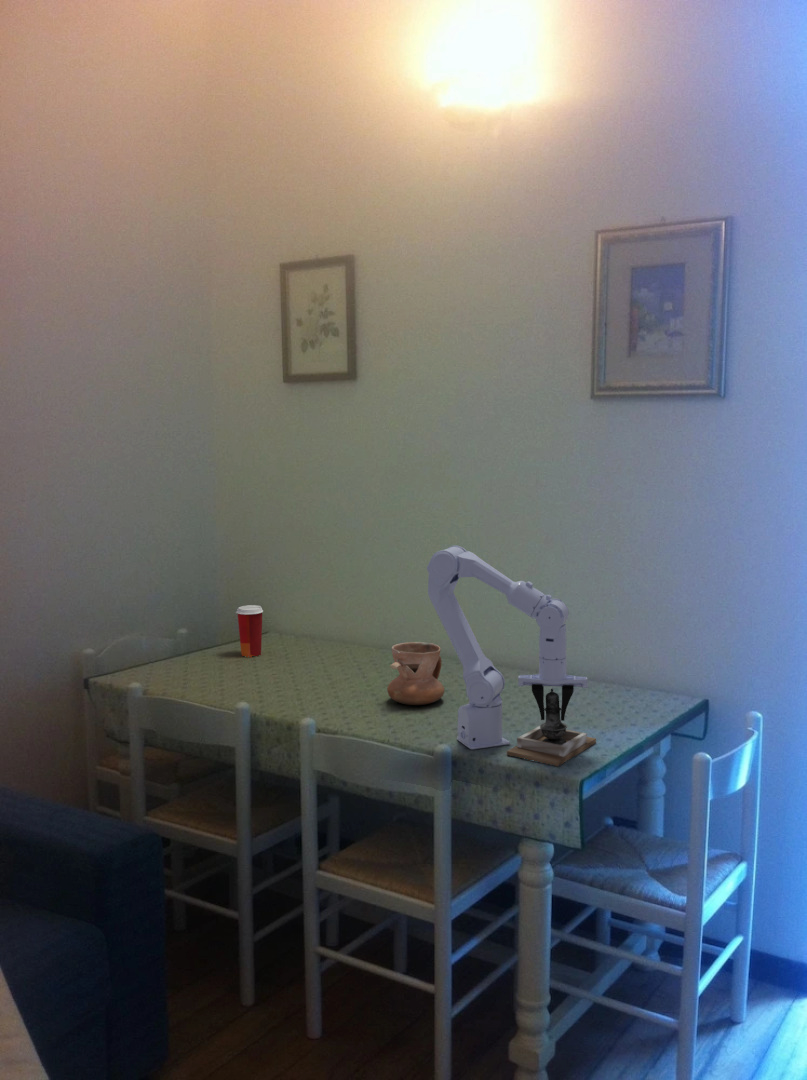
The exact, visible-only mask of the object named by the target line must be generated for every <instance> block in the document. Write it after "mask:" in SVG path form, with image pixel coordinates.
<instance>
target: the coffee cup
mask: <svg viewBox="0 0 807 1080" xmlns="http://www.w3.org/2000/svg"><path fill="white" fill-rule="evenodd" d="M263 612H264V610H263V608H262V606H261V605H257V604H256V605H254V604H249V605H242V606H239V607H238V608H237V609H236V611H235V614H237V623H238V632H239V633H238V634H239V643H240V653H241V657H243V656H246V657H245V658H253V657H252V656H257V657H259V656H258V655H260V656H261V655H262V645H263V644H262V642H263V641H262V639H263V633H262V632H263ZM248 656H249V657H248Z"/></svg>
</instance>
